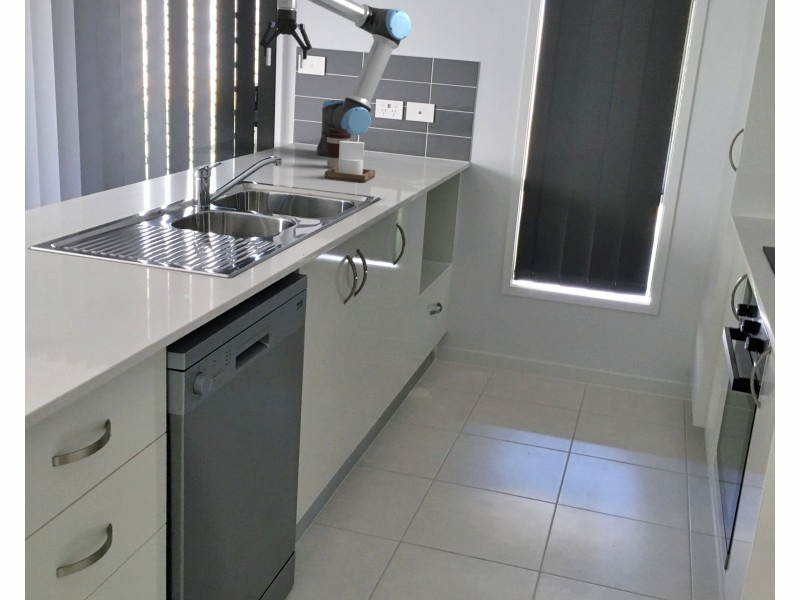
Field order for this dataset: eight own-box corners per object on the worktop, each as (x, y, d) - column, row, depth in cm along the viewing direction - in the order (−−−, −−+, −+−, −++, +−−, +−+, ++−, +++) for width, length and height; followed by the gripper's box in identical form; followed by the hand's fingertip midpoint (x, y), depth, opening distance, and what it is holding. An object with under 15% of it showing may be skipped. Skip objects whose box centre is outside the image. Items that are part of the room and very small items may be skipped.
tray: (336, 172, 323) (336, 166, 322) (374, 176, 320) (375, 170, 319) (324, 178, 309) (324, 171, 308) (364, 182, 306) (364, 175, 305)
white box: (360, 173, 319) (362, 141, 316) (363, 177, 311) (365, 144, 307) (336, 172, 318) (338, 139, 314) (339, 176, 309) (341, 143, 306)
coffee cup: (348, 170, 330) (350, 131, 326) (322, 168, 330) (324, 129, 326) (350, 166, 340) (352, 128, 335) (325, 164, 340) (327, 126, 335)
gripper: (252, 6, 322) (251, 64, 329) (315, 11, 318) (313, 69, 325) (258, 7, 329) (257, 64, 336) (321, 11, 325) (318, 69, 332)
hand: (285, 66), depth 330 cm, fingers open, 13 cm apart
